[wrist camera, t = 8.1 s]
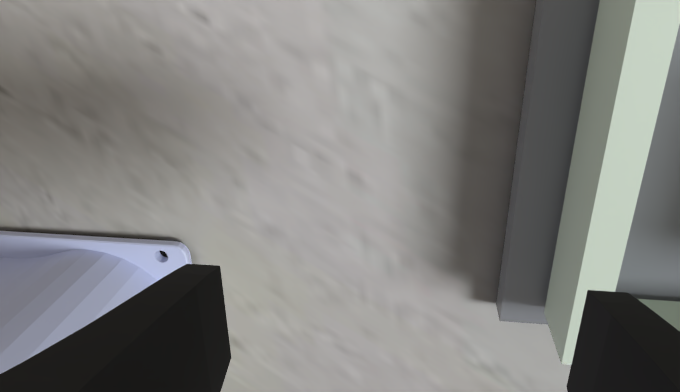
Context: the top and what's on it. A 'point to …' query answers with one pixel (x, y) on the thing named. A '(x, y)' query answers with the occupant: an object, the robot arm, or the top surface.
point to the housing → (610, 159)
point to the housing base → (554, 164)
